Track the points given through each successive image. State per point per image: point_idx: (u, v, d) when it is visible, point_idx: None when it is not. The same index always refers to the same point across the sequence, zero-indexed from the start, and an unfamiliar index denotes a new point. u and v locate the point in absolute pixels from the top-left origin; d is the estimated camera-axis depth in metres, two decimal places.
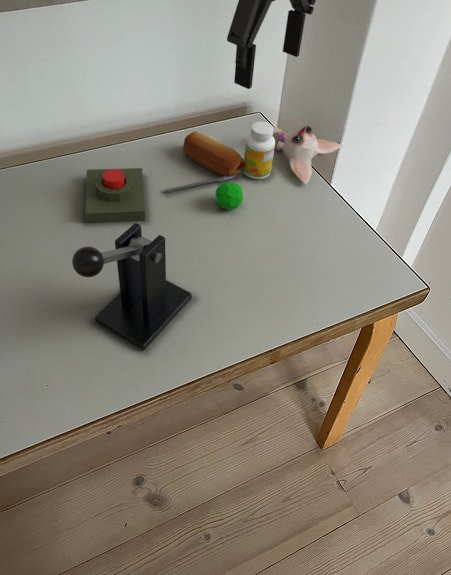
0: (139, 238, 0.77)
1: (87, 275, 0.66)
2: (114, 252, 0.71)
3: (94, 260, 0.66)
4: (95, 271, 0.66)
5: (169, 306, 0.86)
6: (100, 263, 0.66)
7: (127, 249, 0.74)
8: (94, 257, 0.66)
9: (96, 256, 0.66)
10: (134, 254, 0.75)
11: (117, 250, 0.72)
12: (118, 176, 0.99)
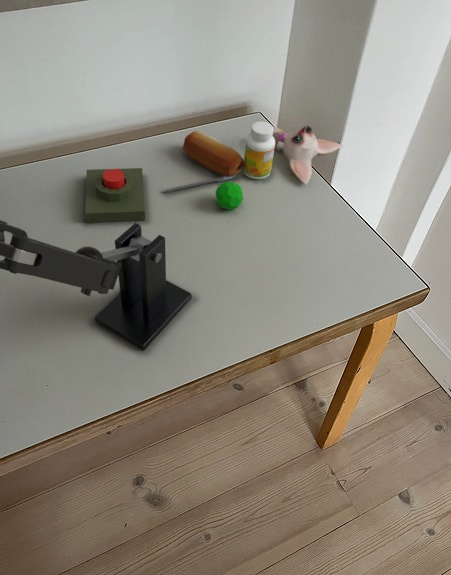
0: (139, 238, 0.77)
1: None
2: (114, 252, 0.71)
3: None
4: None
5: (169, 306, 0.86)
6: None
7: (127, 249, 0.74)
8: None
9: (96, 256, 0.66)
10: (134, 254, 0.75)
11: (117, 250, 0.72)
12: (118, 176, 0.99)
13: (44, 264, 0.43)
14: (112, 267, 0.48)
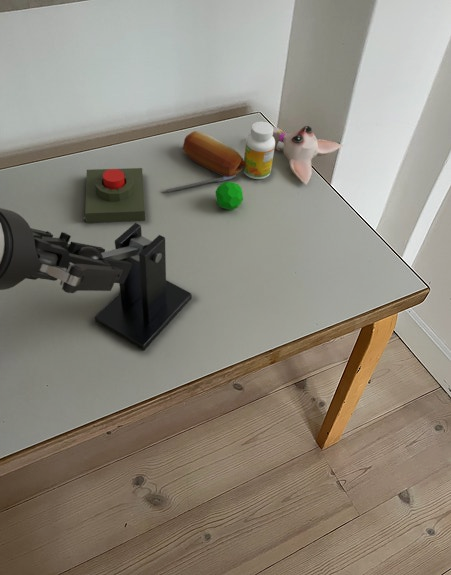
0: (139, 238, 0.77)
1: None
2: (114, 252, 0.71)
3: None
4: None
5: (169, 306, 0.86)
6: None
7: (127, 249, 0.74)
8: (94, 257, 0.66)
9: (96, 256, 0.66)
10: (134, 254, 0.75)
11: (117, 250, 0.72)
12: (118, 176, 0.99)
13: (84, 281, 0.57)
14: (118, 272, 0.63)
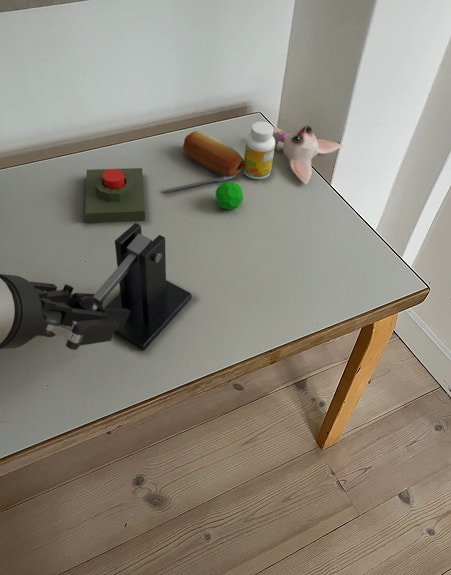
0: (135, 240, 0.76)
1: None
2: (112, 281, 0.74)
3: None
4: None
5: (169, 306, 0.86)
6: None
7: (125, 264, 0.75)
8: None
9: None
10: (134, 262, 0.76)
11: (114, 274, 0.74)
12: (118, 176, 0.99)
13: (86, 336, 0.63)
14: (117, 324, 0.68)
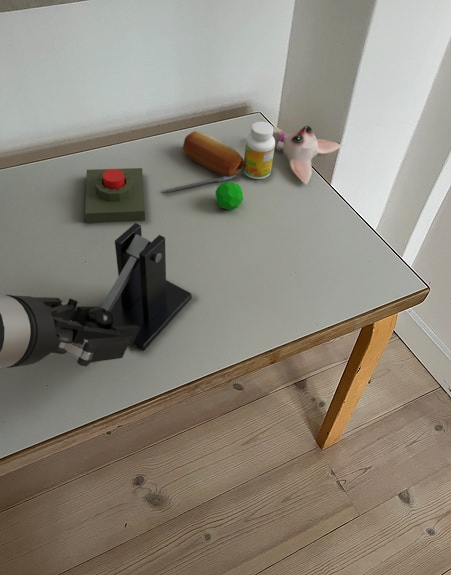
0: (133, 243, 0.76)
1: None
2: (116, 289, 0.76)
3: (100, 328, 0.74)
4: None
5: (169, 306, 0.86)
6: (107, 325, 0.75)
7: (127, 269, 0.76)
8: (99, 327, 0.74)
9: (100, 325, 0.74)
10: (136, 264, 0.77)
11: (118, 281, 0.76)
12: (118, 176, 0.99)
13: (96, 354, 0.66)
14: (128, 342, 0.72)
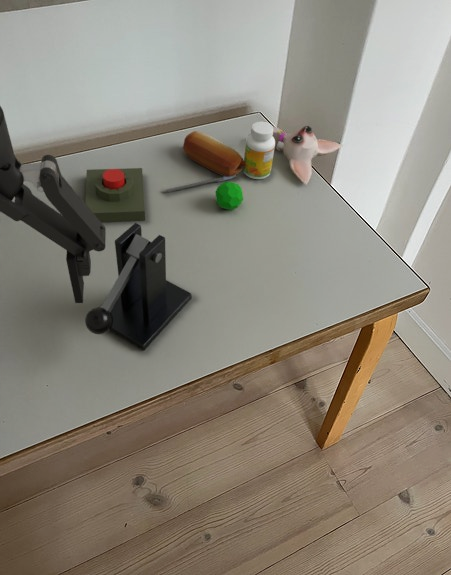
0: (133, 243, 0.76)
1: None
2: (116, 289, 0.76)
3: (100, 328, 0.74)
4: (108, 330, 0.76)
5: (169, 306, 0.86)
6: (107, 325, 0.75)
7: (127, 269, 0.76)
8: (99, 327, 0.74)
9: (100, 325, 0.74)
10: (136, 264, 0.77)
11: (118, 281, 0.76)
12: (118, 176, 0.99)
13: (64, 189, 0.49)
14: (103, 226, 0.54)
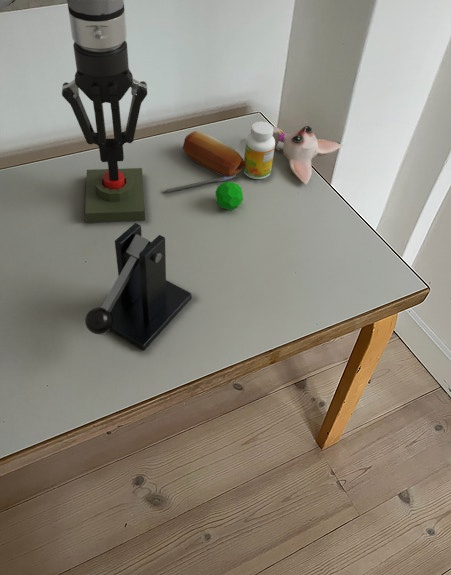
0: (133, 243, 0.76)
1: None
2: (116, 289, 0.76)
3: (100, 328, 0.74)
4: (108, 330, 0.76)
5: (169, 306, 0.86)
6: (107, 325, 0.75)
7: (127, 269, 0.76)
8: (99, 327, 0.74)
9: (100, 325, 0.74)
10: (136, 264, 0.77)
11: (118, 281, 0.76)
12: None
13: None
14: None
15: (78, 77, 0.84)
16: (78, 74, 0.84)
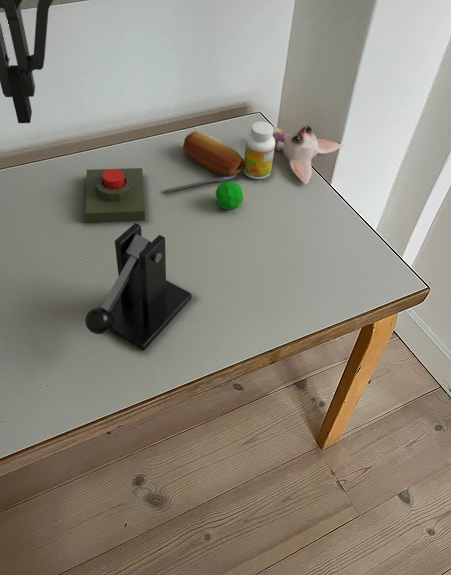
0: (133, 243, 0.76)
1: None
2: (116, 289, 0.76)
3: (100, 328, 0.74)
4: (108, 330, 0.76)
5: (169, 306, 0.86)
6: (107, 325, 0.75)
7: (127, 269, 0.76)
8: (99, 327, 0.74)
9: (100, 325, 0.74)
10: (136, 264, 0.77)
11: (118, 281, 0.76)
12: (118, 176, 0.99)
13: None
14: (44, 56, 0.71)
15: None
16: None
